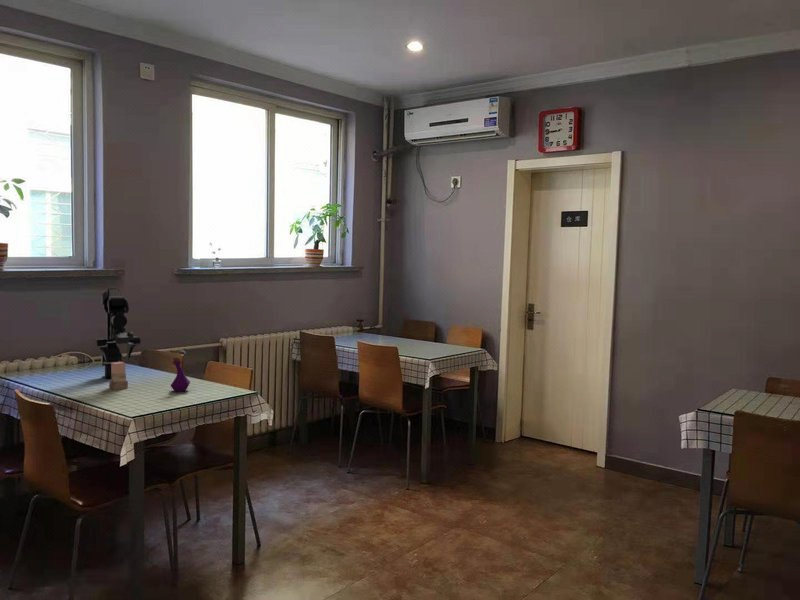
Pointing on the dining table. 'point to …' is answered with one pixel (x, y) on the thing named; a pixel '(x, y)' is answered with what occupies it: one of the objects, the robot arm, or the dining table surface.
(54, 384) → the dining table surface
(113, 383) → the tower base
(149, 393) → the dining table surface
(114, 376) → the tower mid
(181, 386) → the purple faceted vase
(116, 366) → the cube
